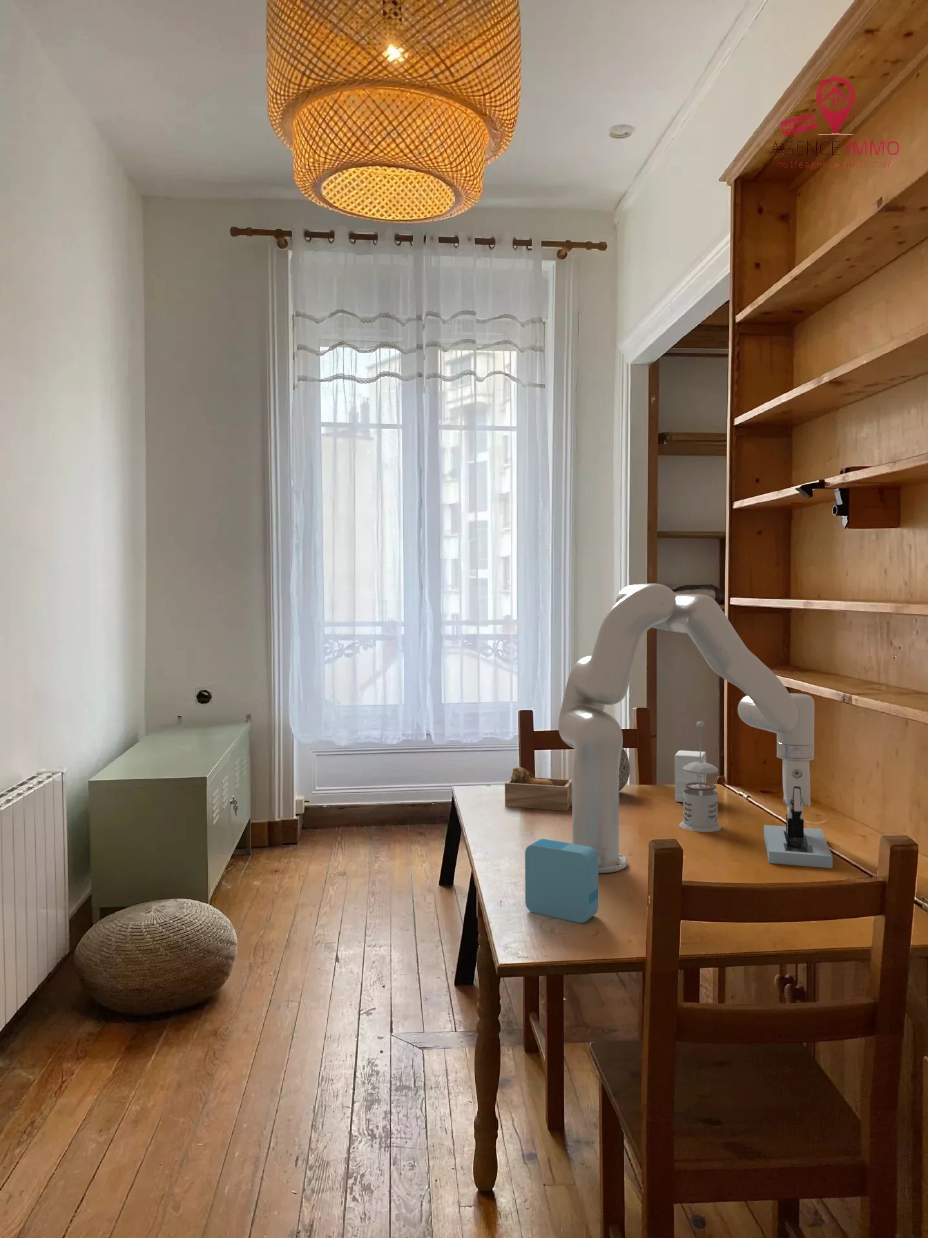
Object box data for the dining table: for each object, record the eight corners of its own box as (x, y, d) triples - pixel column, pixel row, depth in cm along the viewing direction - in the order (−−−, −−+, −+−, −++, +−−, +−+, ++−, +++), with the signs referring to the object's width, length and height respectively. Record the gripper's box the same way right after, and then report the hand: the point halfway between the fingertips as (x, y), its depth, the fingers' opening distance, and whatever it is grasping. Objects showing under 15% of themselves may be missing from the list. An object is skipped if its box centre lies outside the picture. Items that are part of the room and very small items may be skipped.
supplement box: (706, 798, 224) (707, 751, 223) (702, 804, 217) (702, 756, 216) (679, 795, 227) (679, 749, 226) (674, 801, 220) (674, 754, 220)
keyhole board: (832, 868, 166) (832, 856, 166) (768, 863, 170) (769, 851, 170) (820, 839, 186) (820, 829, 186) (763, 835, 189) (763, 825, 189)
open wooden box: (567, 810, 212) (567, 787, 212) (504, 806, 217) (504, 783, 217) (573, 802, 221) (573, 779, 220) (513, 798, 225) (513, 776, 225)
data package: (598, 916, 143) (598, 847, 143) (588, 925, 139) (588, 854, 139) (536, 903, 149) (536, 837, 149) (524, 911, 145) (524, 843, 145)
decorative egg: (587, 788, 236) (586, 735, 235) (629, 789, 234) (628, 736, 234) (586, 798, 224) (586, 743, 224) (630, 799, 222) (630, 744, 222)
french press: (678, 830, 194) (678, 723, 193) (680, 817, 205) (680, 716, 204) (722, 833, 191) (722, 725, 190) (721, 820, 202) (722, 717, 201)
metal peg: (807, 848, 177) (808, 801, 177) (783, 846, 179) (784, 799, 179) (805, 842, 182) (806, 796, 182) (782, 840, 183) (782, 794, 183)
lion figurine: (507, 801, 220) (507, 768, 220) (515, 797, 225) (516, 764, 224) (559, 809, 213) (560, 774, 213) (566, 804, 218) (567, 770, 217)
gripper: (818, 759, 171) (817, 847, 171) (810, 745, 187) (809, 826, 187) (779, 757, 173) (778, 844, 174) (774, 743, 189) (774, 823, 189)
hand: (794, 834), depth 180 cm, fingers closed on metal peg, 3 cm apart
